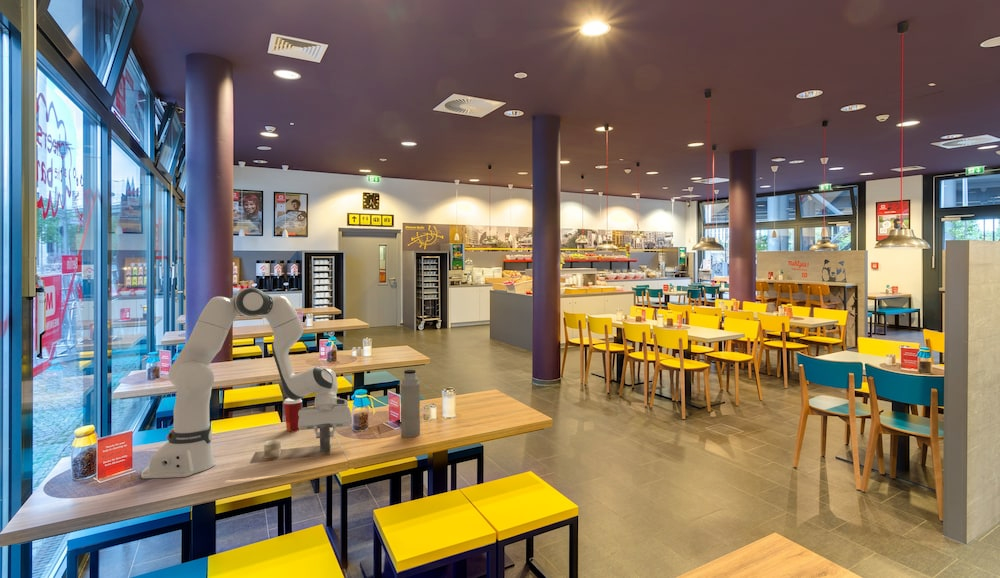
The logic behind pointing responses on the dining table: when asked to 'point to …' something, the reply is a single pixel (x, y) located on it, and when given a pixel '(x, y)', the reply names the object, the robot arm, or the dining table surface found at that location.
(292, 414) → the paper cup
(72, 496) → the dining table surface
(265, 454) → the gray-green cube
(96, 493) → the dining table surface
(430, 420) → the dining table surface
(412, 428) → the thermos bottle
